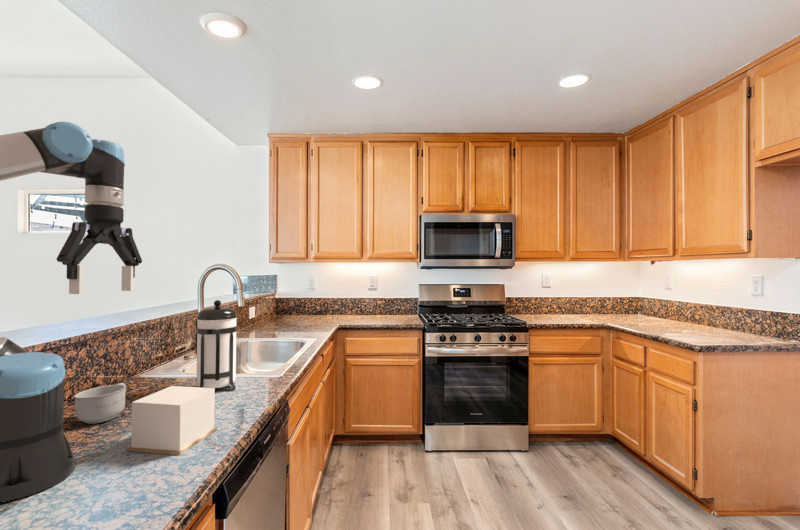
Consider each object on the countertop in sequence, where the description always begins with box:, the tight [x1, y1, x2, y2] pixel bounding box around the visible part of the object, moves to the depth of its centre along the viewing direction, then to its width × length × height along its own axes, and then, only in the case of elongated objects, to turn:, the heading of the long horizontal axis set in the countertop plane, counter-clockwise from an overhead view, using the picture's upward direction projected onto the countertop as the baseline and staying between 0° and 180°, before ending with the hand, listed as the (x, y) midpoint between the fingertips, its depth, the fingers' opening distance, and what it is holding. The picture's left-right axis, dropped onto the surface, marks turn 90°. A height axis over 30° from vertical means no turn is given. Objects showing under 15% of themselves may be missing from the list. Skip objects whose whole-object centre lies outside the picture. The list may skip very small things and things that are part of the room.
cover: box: [130, 385, 216, 451], centre depth 90 cm, size 12×12×10 cm
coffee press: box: [195, 299, 239, 391], centre depth 128 cm, size 17×16×30 cm
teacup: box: [73, 382, 127, 425], centre depth 103 cm, size 14×11×8 cm
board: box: [126, 426, 218, 456], centre depth 90 cm, size 13×13×1 cm
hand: (103, 292), depth 92 cm, fingers open, 13 cm apart
